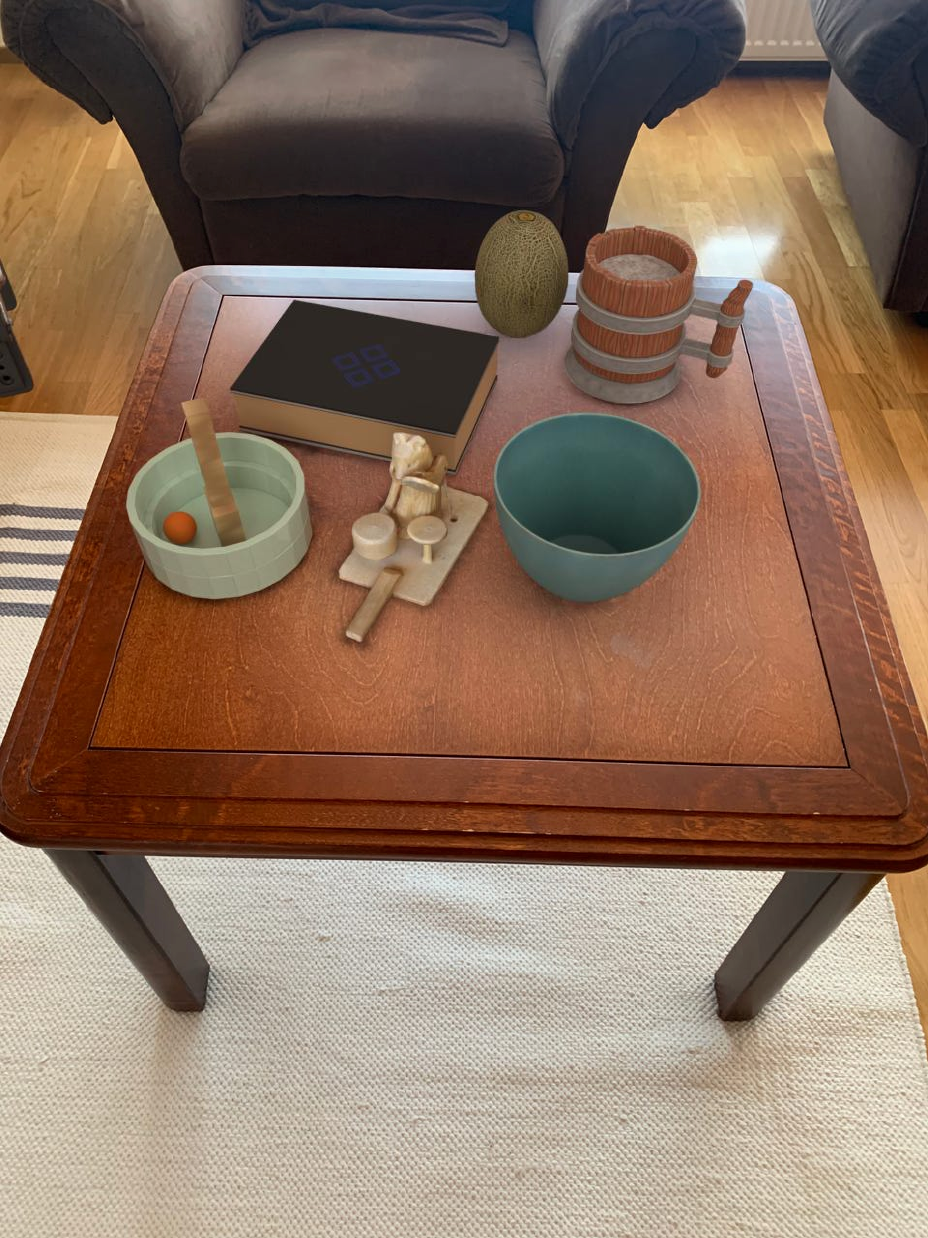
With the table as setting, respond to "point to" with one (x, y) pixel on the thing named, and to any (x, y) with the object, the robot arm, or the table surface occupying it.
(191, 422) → the stick
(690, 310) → the mug
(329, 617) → the table surface
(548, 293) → the fruit
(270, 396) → the book
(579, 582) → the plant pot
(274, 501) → the bowl
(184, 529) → the ball
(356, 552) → the wooden toy
